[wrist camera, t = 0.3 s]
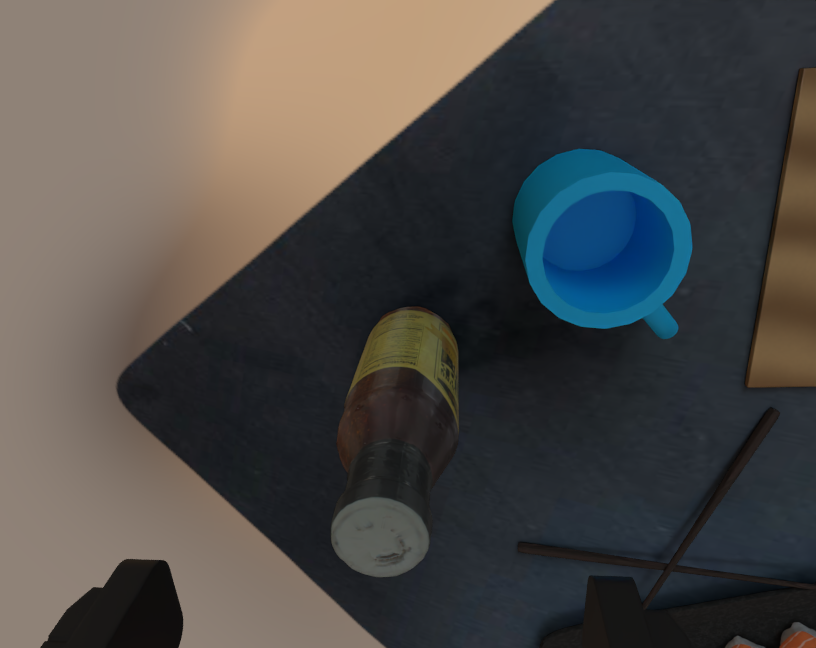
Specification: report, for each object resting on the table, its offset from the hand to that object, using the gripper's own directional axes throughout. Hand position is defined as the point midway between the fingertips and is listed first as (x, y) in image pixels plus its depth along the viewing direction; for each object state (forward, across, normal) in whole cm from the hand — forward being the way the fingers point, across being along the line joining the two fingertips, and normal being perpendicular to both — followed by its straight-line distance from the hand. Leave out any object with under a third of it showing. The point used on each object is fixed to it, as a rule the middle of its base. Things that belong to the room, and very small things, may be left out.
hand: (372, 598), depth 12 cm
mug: (+30, -10, +2) cm, 32 cm away
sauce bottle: (+30, +2, +9) cm, 31 cm away
